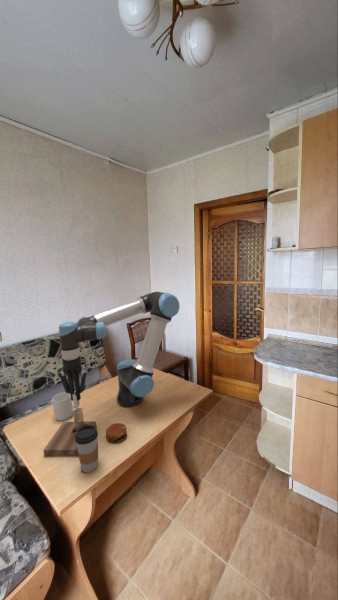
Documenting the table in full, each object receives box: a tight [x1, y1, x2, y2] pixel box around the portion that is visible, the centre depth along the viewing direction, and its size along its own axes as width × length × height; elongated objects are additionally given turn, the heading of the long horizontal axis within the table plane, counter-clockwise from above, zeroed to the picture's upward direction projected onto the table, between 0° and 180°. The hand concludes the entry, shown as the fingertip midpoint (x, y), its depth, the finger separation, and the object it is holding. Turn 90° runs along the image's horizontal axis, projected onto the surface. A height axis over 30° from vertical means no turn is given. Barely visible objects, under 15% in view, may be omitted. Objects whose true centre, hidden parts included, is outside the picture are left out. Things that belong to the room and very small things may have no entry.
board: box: [43, 420, 97, 458], centre depth 110 cm, size 16×18×3 cm
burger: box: [105, 422, 128, 443], centre depth 112 cm, size 10×9×5 cm
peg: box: [72, 407, 84, 432], centre depth 113 cm, size 4×4×12 cm
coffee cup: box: [75, 425, 99, 473], centre depth 95 cm, size 8×8×15 cm
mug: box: [52, 391, 75, 422], centre depth 129 cm, size 12×9×11 cm
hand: (76, 406), depth 112 cm, fingers closed
